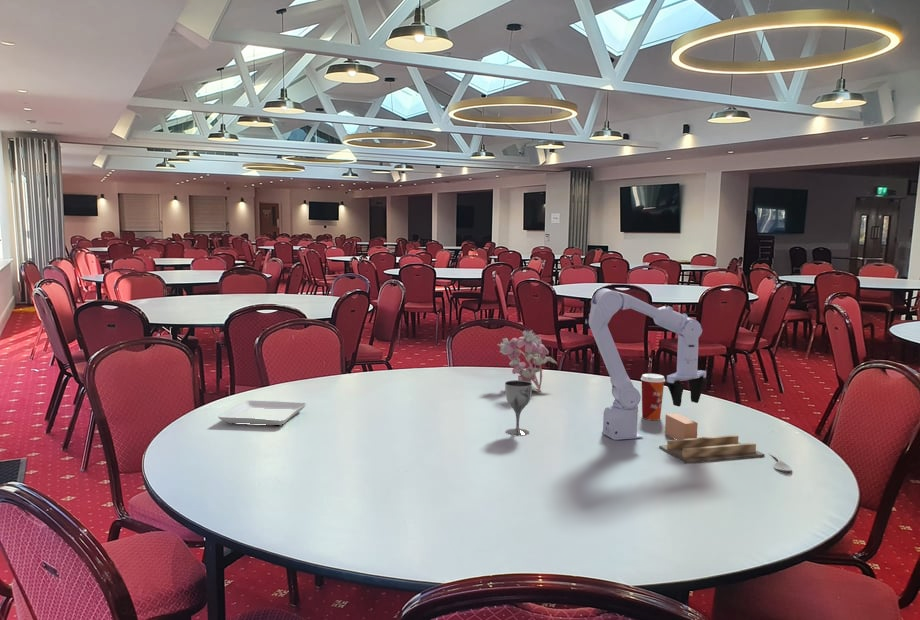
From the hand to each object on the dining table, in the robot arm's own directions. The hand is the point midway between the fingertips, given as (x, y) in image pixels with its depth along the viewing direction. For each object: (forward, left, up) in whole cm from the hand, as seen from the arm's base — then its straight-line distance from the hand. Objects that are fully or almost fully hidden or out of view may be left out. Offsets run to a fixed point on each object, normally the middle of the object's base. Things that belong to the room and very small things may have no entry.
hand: (685, 403), depth 192 cm
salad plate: (-121, +46, -10) cm, 130 cm away
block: (-2, -2, -10) cm, 10 cm away
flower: (-24, +68, -10) cm, 73 cm away
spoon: (+12, -25, -10) cm, 29 cm away
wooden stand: (-1, -15, -10) cm, 18 cm away
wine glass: (-47, +14, -10) cm, 50 cm away
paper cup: (+1, +19, -10) cm, 22 cm away
